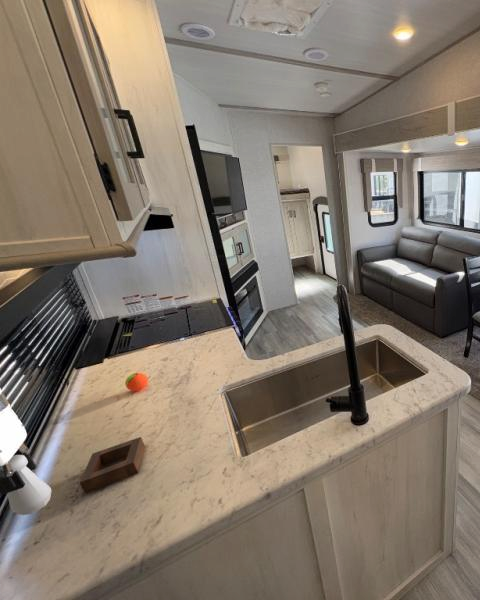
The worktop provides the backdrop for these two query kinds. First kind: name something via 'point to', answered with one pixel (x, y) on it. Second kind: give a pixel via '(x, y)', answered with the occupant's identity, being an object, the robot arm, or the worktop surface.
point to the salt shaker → (27, 489)
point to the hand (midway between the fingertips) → (19, 479)
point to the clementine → (136, 382)
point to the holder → (102, 477)
